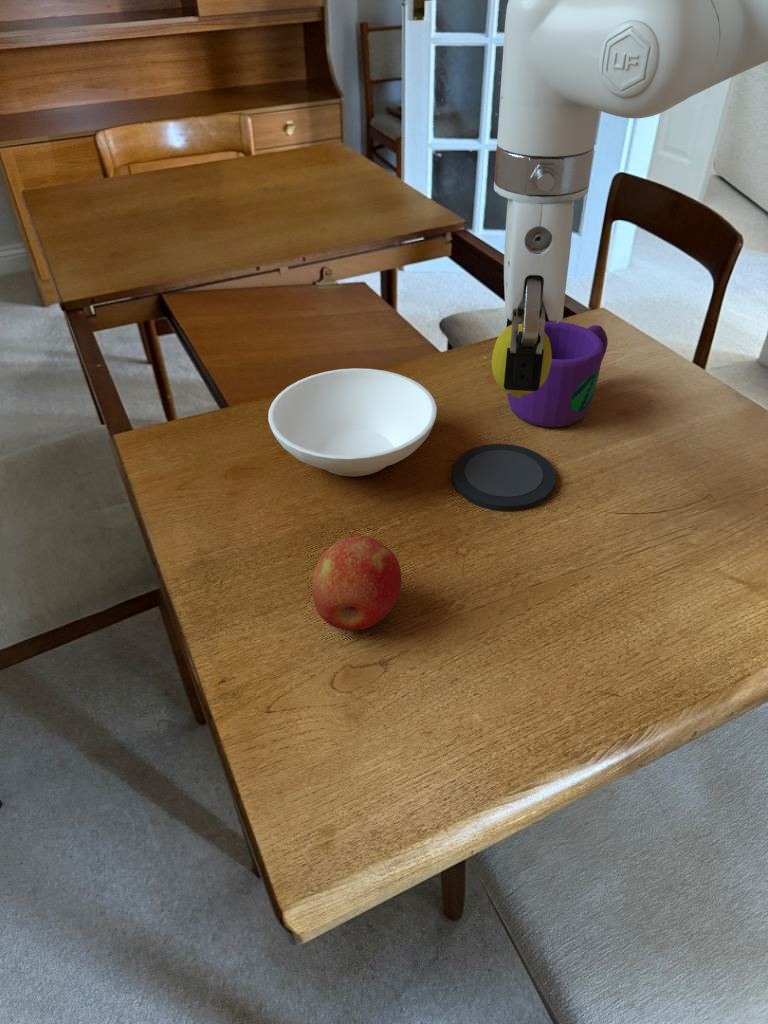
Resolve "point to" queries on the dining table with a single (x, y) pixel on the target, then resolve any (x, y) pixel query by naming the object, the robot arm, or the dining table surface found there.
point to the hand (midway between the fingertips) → (520, 370)
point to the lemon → (500, 360)
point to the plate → (503, 477)
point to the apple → (356, 583)
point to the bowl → (352, 419)
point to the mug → (565, 376)
